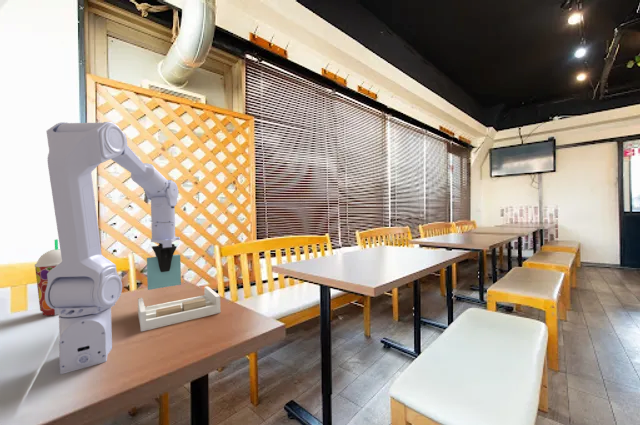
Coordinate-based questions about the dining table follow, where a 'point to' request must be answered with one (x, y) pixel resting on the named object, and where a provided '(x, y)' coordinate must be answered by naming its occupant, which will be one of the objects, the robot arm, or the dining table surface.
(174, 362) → the dining table surface
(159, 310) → the offcut
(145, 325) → the rack
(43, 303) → the smoothie
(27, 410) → the dining table surface
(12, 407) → the dining table surface
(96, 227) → the robot arm
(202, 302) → the offcut
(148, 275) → the teal square slab
